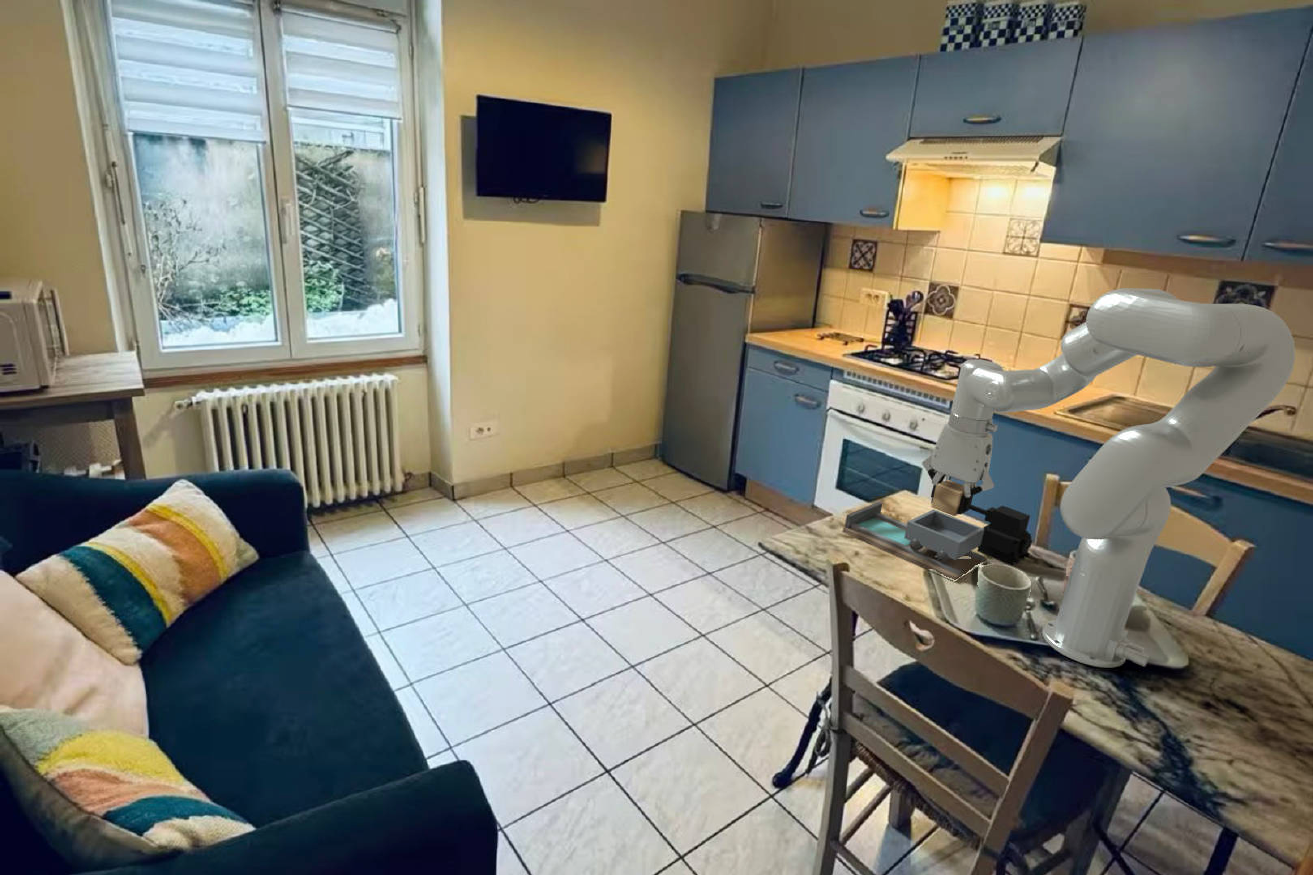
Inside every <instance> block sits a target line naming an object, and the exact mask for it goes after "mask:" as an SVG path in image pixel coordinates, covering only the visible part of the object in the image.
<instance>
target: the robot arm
mask: <svg viewBox="0 0 1313 875" xmlns="http://www.w3.org/2000/svg"><path fill="white" fill-rule="evenodd" d="M1060 350H1061V354H1060V355H1059V356H1057V357H1056V358H1054V359H1052V360H1050V361H1049V362H1047V363H1044V364H1043V365H1041V366H1039V367H1037V368H1034V369H1020V370H1019V369H1017V370H1016V369H1015V370H1004V369H1003V367H1002V365H1000V364H999V363H996V362H993V361H989V360H984V359H968V360H965V361H964V362H963V363H962V364H961V367H960V370H959V376H958V380H957V384H956V388H955V393H954V395H953V396H954V397H953V400H952V404H951V408H950V409H951V410H950V414H949V416H948V417H949V418H948V422H947V423H945V424H944V426H943V427H942V429H941V432H940V434H939V436H938V439H937V442H936V444H935V446H934V450H933V454H932V455H930V456H928V457H927V458H926V459H925V460H922V462H921V465H922V466H923V468H924V469H925V470H926V472H927V475H928V476H929V478H930V479H931V484H932V485H933V486H932V490H931V493H930V498H931V502H930V504H932V501H933V497H934V493H935V488H936V485H937V484H939V483H942V482H944V481H945V479H946V477H947V476H948V477H950V478H952V479H956V480H959V481H962V482H963V485H964V495H963V496H962V497H961V500H960V504H959V508H958V515H963V514H965V513H967V512H968V511H970V506H971V505H972V501H973V498H974V496H975V495H977V494H979V493H982V492H986V491H989V490H991V489H993V488H994V487H995V483H994V482H993V479H992V478H991V476H990V473H989V471H990V465H991V459H992V455H993V454H992V451H993V441H994V440H993V434H992V433H990V432H993V433H996V432H997V431H998V425H996V424H994V423H993V421H994V419H993V416H994V412H996V413H1002V414H1003V413H1004V414H1005V413H1015V412H1022V411H1023V412H1025V411H1036V410H1041V409H1045V408H1048V407H1050V406H1053V405H1055V404H1057V403H1059V402H1062V401H1063V400H1065V399H1068V398H1070V397H1071V396H1073V395H1075V394H1077V393H1079V392H1080V391H1082V390H1083V389H1085V388H1086V387H1087V386H1089V385H1090V383H1092V382H1093V381H1094V380H1095V379H1096V377H1097V376H1099V375H1101V374H1103V373H1105V372H1106V371H1109V370H1111V369H1113V368H1114V367H1116V366H1118V365H1120V364H1122V363H1124V362H1126V361H1128V360H1130V359H1132V358H1134V357H1136V356H1141V357H1145V358H1151V359H1154V360H1157V361H1161V362H1165V363H1169V364H1172V365H1173V364H1174V365H1178V366H1183V367H1192V368H1208V367H1213V368H1212V370H1211V371H1210V372H1209V373H1208V374H1207V375H1205V377H1203V378H1202V379H1201V380H1200V381H1198V382H1197V383H1196V384H1194V385H1193V386H1192V387H1191V388H1189V390H1187V392H1185V394H1184V395H1183V396H1182V397H1181V399H1180V400H1179V401H1178V403H1176V404H1175V406H1174V407H1173V408H1172V409H1171V410H1170V411H1169V412H1168V413H1167V414H1166V415H1164V416H1163V417H1162V418H1161V419H1160V420H1158V421H1156V422H1155V421H1154V422H1152V423H1147V424H1139V425H1133V426H1130V427H1127V428H1125V429H1122V430H1120V431H1118V432H1117V433H1115V434H1114V435H1113V436H1111V437H1110V438H1109V439H1108V440H1107V441H1106V442H1104V443H1103V445H1102V446H1101V447H1100V448H1099V449H1098V450H1097V452H1096V453H1095V454H1094V455H1093V456H1092V457H1091V458H1090V459H1089V461H1088V462H1087V463H1086V464H1085V465H1084V467H1083V468H1082V469H1081V470H1080V471H1079V473H1078V474H1077V475H1076V476H1075V477H1074V478H1073V480H1072V481H1071V482H1070V483H1069V485H1068V486H1067V488H1066V489H1065V491H1064V493H1063V495H1062V496H1061V499H1060V507H1059V508H1060V517H1061V519H1062V521H1063V523H1064V525H1065V526H1066V527H1067V529H1068V530H1069V531H1070V532H1071V533H1072V534H1075V535H1076V536H1078V537H1080V538H1081V539H1080V542H1079V545H1078V548H1077V550H1076V555H1075V557H1074V559H1073V560H1074V561H1073V564H1072V567H1071V571H1070V574H1069V577H1068V580H1067V583H1066V584H1067V585H1066V587H1065V591H1064V594H1063V598H1062V599H1061V600H1062V601H1061V603H1060V607H1059V610H1058V614H1057V617H1056V619H1052V620H1049V621H1047V622H1046V623H1045V624H1044V625H1043V628H1042V633H1041V634H1042V636H1043V639H1044V640H1045V642H1046V643H1048V644H1049V646H1050V647H1051V648H1053V649H1054V650H1055V651H1057V652H1059V653H1060V654H1061V655H1063V656H1065V657H1067V658H1070V659H1071V660H1073V661H1076V662H1079V663H1082V664H1085V665H1088V666H1092V667H1098V668H1107V669H1108V668H1116V667H1120V666H1122V665H1123V664H1125V662H1126V660H1130V661H1132V663H1134V664H1137V665H1139V666H1141V667H1146V666H1147V663H1148V661H1149V659H1150V655H1148V654H1146V653H1144V652H1145V647H1142V646H1140V645H1138V644H1135V643H1133V642H1130V640H1129V639H1128V638H1127V636H1128V633H1129V631H1128V630H1126V629H1125V626H1126V625H1127V621H1128V618H1129V615H1130V612H1131V609H1132V606H1133V603H1134V601H1135V597H1136V594H1137V592H1138V588H1139V585H1140V583H1141V581H1142V580H1141V579H1142V577H1143V574H1144V571H1145V569H1146V565H1147V562H1148V561H1149V560H1148V559H1149V557H1150V555H1151V553H1152V551H1153V548H1154V547H1155V544H1156V542H1157V541H1158V538H1159V536H1160V535H1161V533H1162V532H1163V529H1165V527H1166V524H1167V521H1168V520H1169V517H1170V514H1171V507H1172V506H1171V505H1172V502H1171V497H1170V494H1169V492H1168V490H1167V488H1171V487H1175V486H1180V485H1184V484H1187V483H1190V482H1193V481H1195V480H1197V479H1198V478H1199V477H1200V476H1201V475H1202V474H1204V472H1205V471H1207V469H1209V467H1210V466H1211V465H1213V463H1214V462H1215V461H1216V460H1217V459H1218V458H1219V457H1220V456H1221V455H1222V454H1223V453H1224V452H1225V451H1226V450H1227V449H1228V448H1229V447H1230V446H1231V445H1232V444H1233V443H1234V442H1235V441H1236V440H1237V439H1238V438H1239V437H1240V435H1242V433H1243V432H1244V431H1245V430H1246V429H1247V428H1248V427H1249V425H1251V424H1252V423H1253V422H1254V421H1255V420H1256V419H1257V418H1258V417H1259V415H1261V413H1262V412H1264V411H1265V410H1266V409H1267V407H1268V406H1270V405H1271V404H1272V403H1273V401H1274V400H1275V399H1277V397H1278V396H1279V394H1280V393H1281V392H1282V391H1283V389H1284V388H1285V387H1286V384H1287V383H1288V381H1289V379H1290V377H1291V375H1292V372H1293V369H1294V366H1295V360H1296V346H1295V341H1294V337H1293V335H1292V332H1291V330H1290V328H1289V327H1288V325H1287V324H1286V322H1285V321H1284V320H1283V319H1282V318H1281V317H1280V316H1279V315H1277V314H1276V313H1275V312H1274V311H1272V310H1270V309H1267V308H1266V307H1262V306H1258V305H1254V304H1248V303H1247V304H1246V303H1202V302H1201V303H1200V302H1196V301H1195V302H1193V301H1188V300H1181V299H1178V298H1177V297H1176V296H1174V295H1173V294H1172V293H1169V291H1166V290H1161V289H1158V288H1157V289H1156V288H1129V287H1128V288H1127V287H1125V288H1117V289H1113V290H1110V291H1108V292H1106V293H1104V294H1102V295H1101V296H1100V297H1098V298H1097V299H1096V300H1095V301H1094V302H1093V303H1092V304H1091V306H1090V307H1089V309H1088V311H1087V315H1086V320H1085V322H1083V323H1081V324H1080V325H1078V326H1076V327H1074V328H1072V329H1071V330H1069V331H1068V332H1066V333H1064V335H1063V337H1062V339H1061V341H1060ZM979 481H982V484H979V485H978V486H977V483H978V482H979Z"/></svg>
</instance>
